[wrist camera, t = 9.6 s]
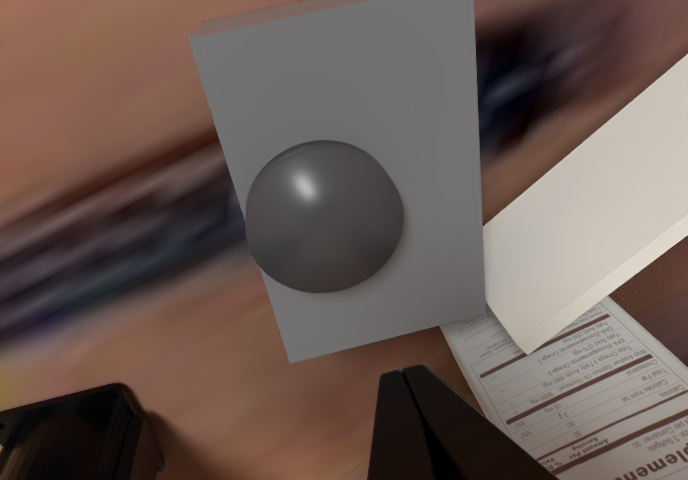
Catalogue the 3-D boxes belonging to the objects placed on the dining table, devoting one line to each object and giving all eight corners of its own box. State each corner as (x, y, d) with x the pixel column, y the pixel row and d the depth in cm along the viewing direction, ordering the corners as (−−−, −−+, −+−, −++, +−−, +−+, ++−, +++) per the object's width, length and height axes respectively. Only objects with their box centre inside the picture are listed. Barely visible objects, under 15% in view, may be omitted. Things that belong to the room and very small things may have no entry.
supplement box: (588, 341, 29) (796, 568, 18) (473, 396, 29) (606, 648, 18) (561, 246, 25) (801, 458, 14) (430, 311, 26) (565, 563, 15)
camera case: (282, 291, 24) (292, 382, 18) (202, 22, 18) (183, 43, 12) (443, 251, 24) (496, 329, 19) (419, -24, 18) (487, -21, 13)
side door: (451, 253, 24) (516, 344, 18) (740, 9, 20) (935, 25, 15) (467, 269, 24) (535, 362, 19) (750, 35, 21) (941, 60, 15)
